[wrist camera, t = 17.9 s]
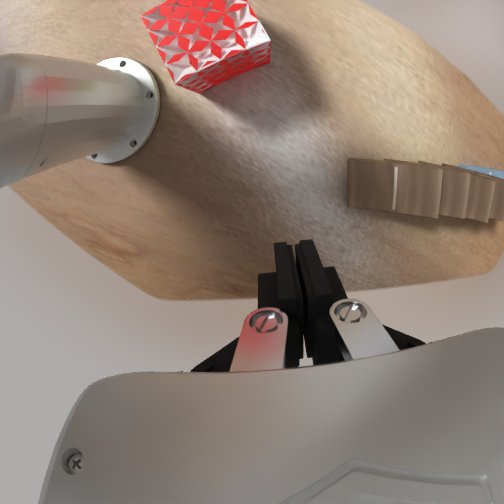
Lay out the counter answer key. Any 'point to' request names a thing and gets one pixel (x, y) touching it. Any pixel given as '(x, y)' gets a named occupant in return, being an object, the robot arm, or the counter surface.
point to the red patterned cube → (207, 40)
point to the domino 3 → (477, 196)
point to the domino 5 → (500, 208)
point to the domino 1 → (394, 187)
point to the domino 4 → (484, 170)
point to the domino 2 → (451, 190)
